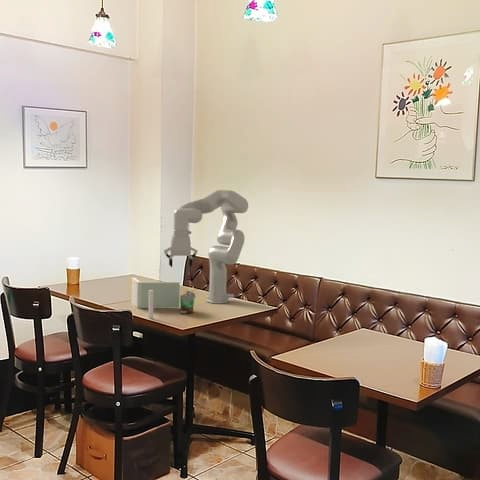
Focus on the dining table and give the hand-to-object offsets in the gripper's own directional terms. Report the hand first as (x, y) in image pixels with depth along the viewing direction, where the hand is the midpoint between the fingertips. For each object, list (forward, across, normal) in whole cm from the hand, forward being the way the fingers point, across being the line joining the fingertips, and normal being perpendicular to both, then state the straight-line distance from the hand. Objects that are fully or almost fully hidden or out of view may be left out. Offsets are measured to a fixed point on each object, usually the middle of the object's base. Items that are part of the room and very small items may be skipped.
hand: (180, 266), depth 304 cm
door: (+23, +9, -8) cm, 26 cm away
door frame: (+24, +19, -4) cm, 31 cm away
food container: (+24, -4, +3) cm, 24 cm away
